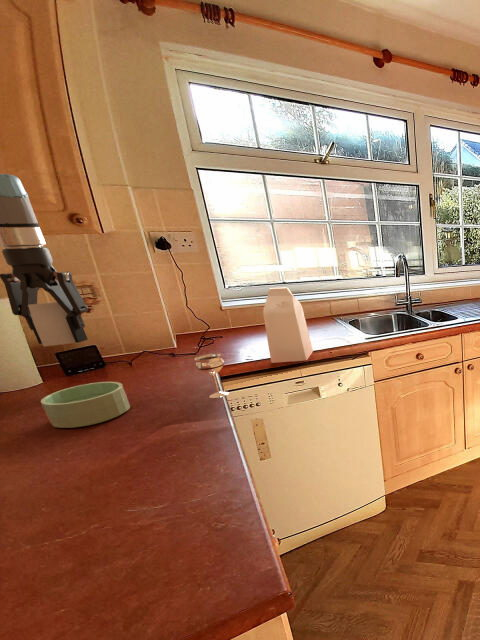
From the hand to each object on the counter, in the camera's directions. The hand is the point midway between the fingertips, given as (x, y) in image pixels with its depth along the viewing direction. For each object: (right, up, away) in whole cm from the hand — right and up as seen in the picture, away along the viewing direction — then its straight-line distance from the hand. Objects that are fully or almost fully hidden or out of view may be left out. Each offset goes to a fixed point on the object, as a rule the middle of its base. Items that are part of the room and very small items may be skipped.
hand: (63, 341), depth 107 cm
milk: (+30, -1, +54) cm, 62 cm away
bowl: (0, -20, +7) cm, 21 cm away
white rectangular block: (0, 0, 0) cm, 0 cm away
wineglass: (+25, -14, +20) cm, 35 cm away
